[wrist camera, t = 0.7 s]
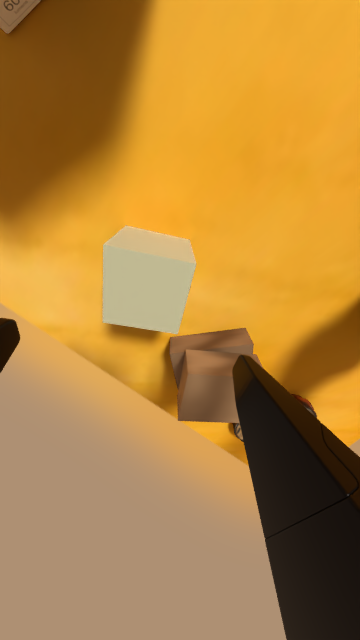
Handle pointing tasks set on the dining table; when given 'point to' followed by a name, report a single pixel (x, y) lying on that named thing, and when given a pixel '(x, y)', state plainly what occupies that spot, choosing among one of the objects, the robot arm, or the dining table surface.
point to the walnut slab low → (208, 345)
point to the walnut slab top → (208, 387)
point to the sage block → (146, 279)
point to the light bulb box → (14, 12)
